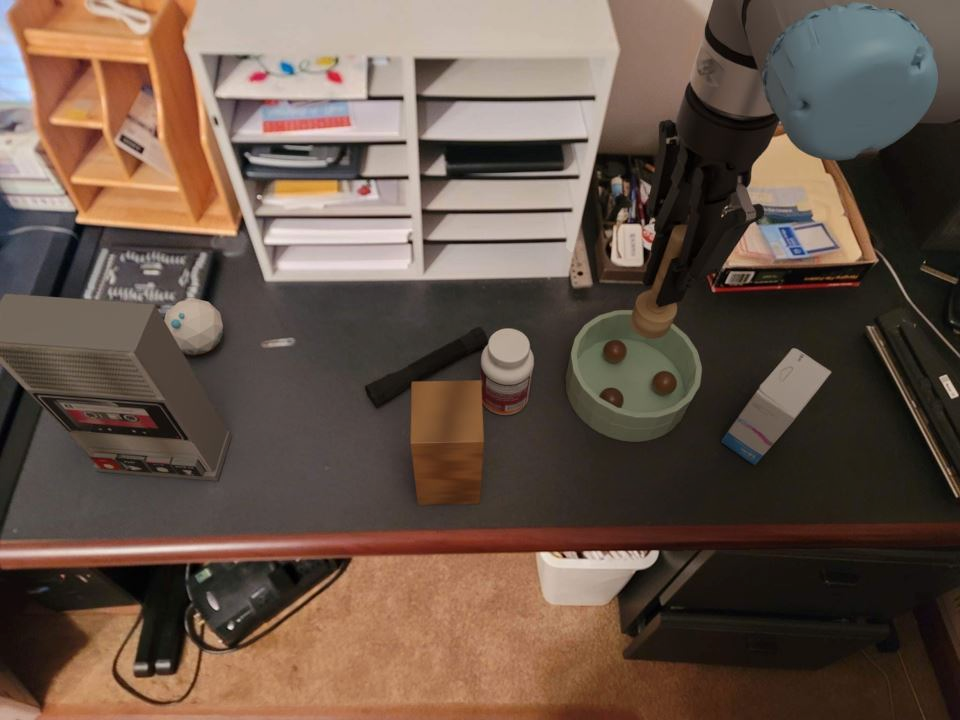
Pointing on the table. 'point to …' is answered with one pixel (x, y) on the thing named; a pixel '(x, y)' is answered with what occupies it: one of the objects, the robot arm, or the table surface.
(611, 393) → the hazelnut
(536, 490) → the table surface
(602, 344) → the bowl
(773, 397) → the ink box
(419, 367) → the flashlight
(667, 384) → the hazelnut
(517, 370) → the pill bottle
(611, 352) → the hazelnut
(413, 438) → the block
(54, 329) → the cassette tape recorder
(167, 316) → the ornament
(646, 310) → the pestle
